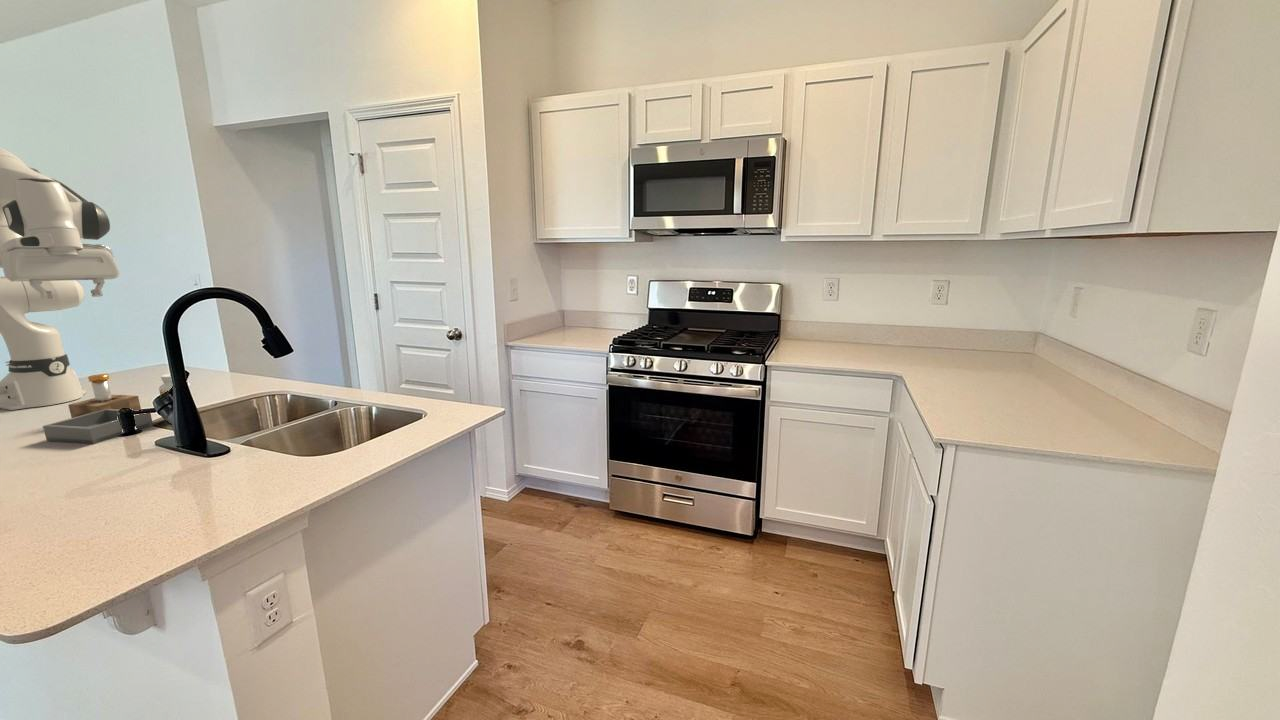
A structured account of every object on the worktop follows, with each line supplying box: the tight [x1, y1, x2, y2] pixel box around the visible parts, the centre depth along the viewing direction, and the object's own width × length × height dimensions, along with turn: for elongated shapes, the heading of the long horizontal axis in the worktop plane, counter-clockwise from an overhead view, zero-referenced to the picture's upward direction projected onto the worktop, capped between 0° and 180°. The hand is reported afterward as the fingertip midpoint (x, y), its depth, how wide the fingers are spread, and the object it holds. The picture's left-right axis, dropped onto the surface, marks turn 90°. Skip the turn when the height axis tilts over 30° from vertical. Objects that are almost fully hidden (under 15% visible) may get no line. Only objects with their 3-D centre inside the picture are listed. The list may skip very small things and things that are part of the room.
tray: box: [42, 409, 154, 445], centre depth 135 cm, size 14×14×4 cm
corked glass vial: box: [88, 373, 112, 403], centre depth 147 cm, size 4×4×12 cm
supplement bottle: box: [158, 373, 193, 397], centre depth 146 cm, size 7×7×13 cm
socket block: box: [67, 394, 142, 419], centre depth 148 cm, size 10×10×5 cm
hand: (73, 297), depth 132 cm, fingers open, 8 cm apart
